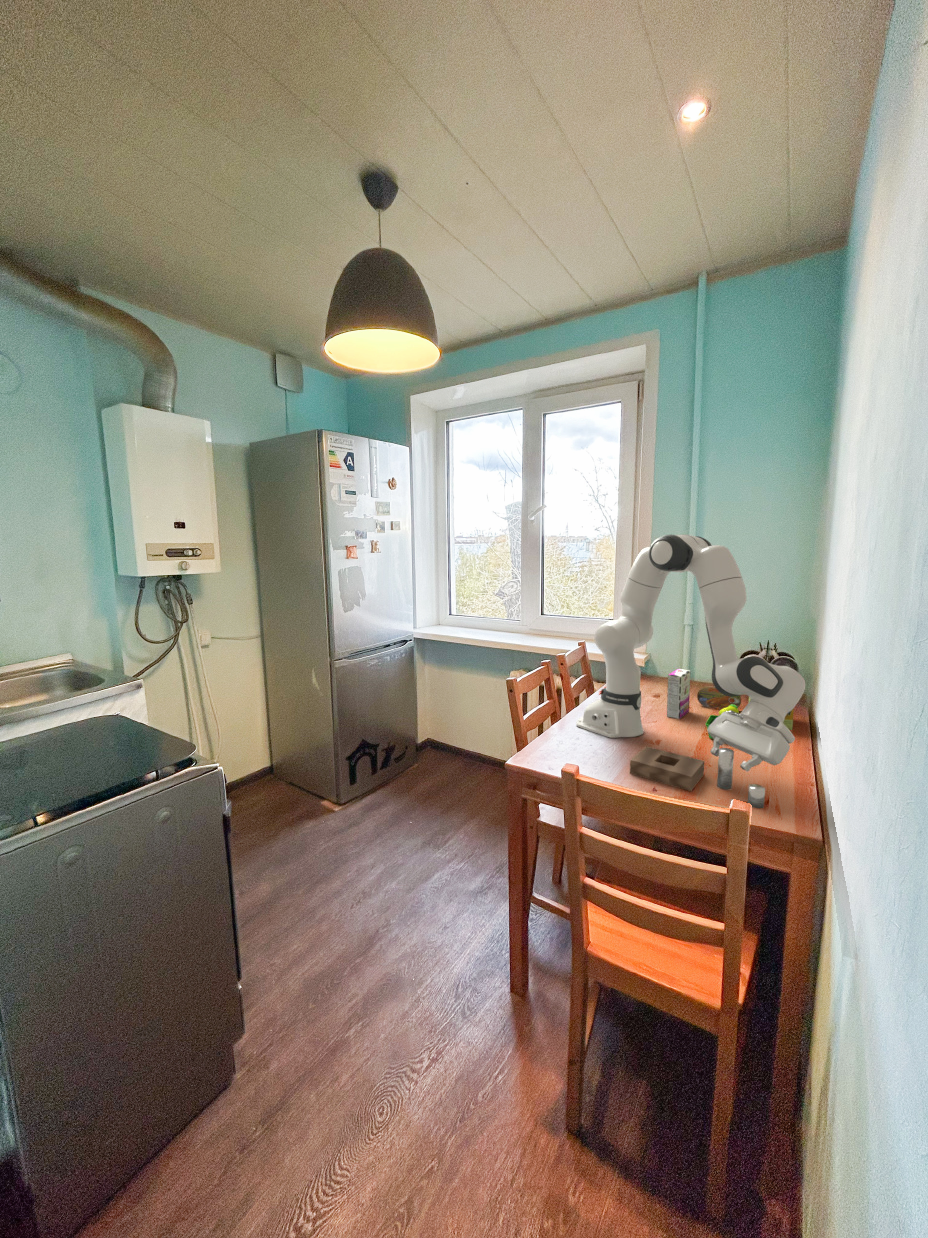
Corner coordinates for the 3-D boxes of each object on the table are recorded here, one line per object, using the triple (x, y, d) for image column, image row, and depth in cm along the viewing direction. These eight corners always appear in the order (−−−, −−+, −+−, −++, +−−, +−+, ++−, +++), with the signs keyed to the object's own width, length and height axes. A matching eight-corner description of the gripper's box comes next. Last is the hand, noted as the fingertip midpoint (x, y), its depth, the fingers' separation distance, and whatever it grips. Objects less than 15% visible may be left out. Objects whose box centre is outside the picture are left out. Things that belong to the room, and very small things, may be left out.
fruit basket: (709, 728, 166) (711, 696, 164) (739, 733, 161) (741, 701, 159) (704, 739, 157) (705, 705, 155) (734, 745, 152) (737, 710, 150)
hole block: (629, 773, 134) (630, 759, 133) (645, 759, 142) (646, 746, 142) (690, 791, 123) (691, 776, 123) (703, 774, 132) (704, 760, 132)
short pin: (746, 805, 116) (747, 788, 115) (749, 799, 119) (750, 782, 118) (762, 810, 114) (763, 792, 113) (765, 804, 116) (766, 787, 116)
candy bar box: (675, 709, 186) (677, 668, 184) (689, 712, 183) (691, 670, 180) (665, 717, 178) (667, 674, 175) (679, 720, 174) (681, 676, 172)
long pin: (715, 787, 125) (717, 751, 124) (718, 782, 128) (720, 746, 126) (729, 791, 123) (732, 754, 121) (733, 786, 125) (735, 750, 124)
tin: (696, 706, 189) (697, 685, 188) (697, 704, 192) (698, 683, 191) (740, 712, 181) (741, 691, 180) (741, 710, 183) (742, 689, 182)
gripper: (720, 702, 135) (691, 740, 133) (789, 726, 116) (756, 771, 114) (732, 715, 137) (703, 753, 135) (801, 741, 117) (769, 785, 116)
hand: (727, 761), depth 124 cm, fingers open, 8 cm apart
